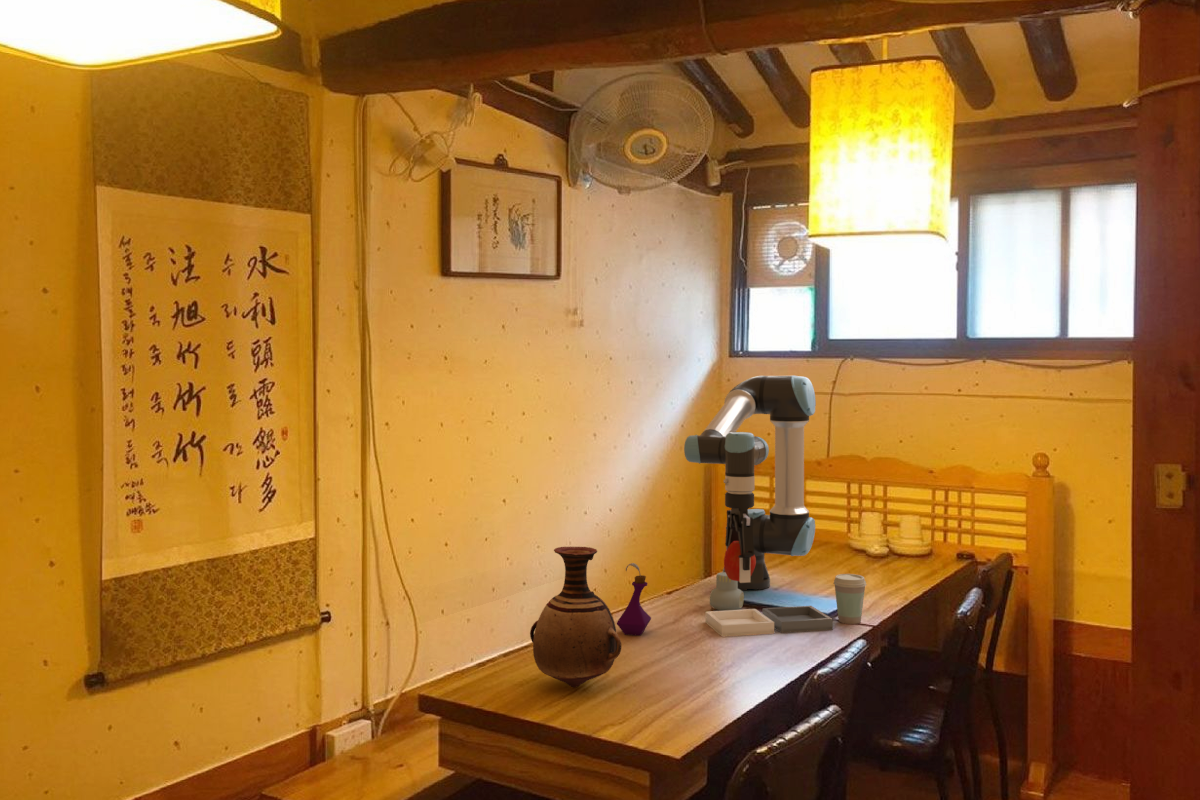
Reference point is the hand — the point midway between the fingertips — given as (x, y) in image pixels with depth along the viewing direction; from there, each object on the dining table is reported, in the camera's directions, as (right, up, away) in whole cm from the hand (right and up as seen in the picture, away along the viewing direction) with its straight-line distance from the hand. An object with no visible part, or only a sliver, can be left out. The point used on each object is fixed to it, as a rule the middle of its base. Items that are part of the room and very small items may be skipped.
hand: (739, 578), depth 268 cm
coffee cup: (+30, -13, +7) cm, 34 cm away
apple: (0, 0, 0) cm, 0 cm away
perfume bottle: (-28, -14, -4) cm, 31 cm away
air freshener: (-1, -12, +20) cm, 23 cm away
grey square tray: (+16, -13, +4) cm, 21 cm away
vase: (-42, -16, -45) cm, 64 cm away
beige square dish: (0, -13, +1) cm, 13 cm away
